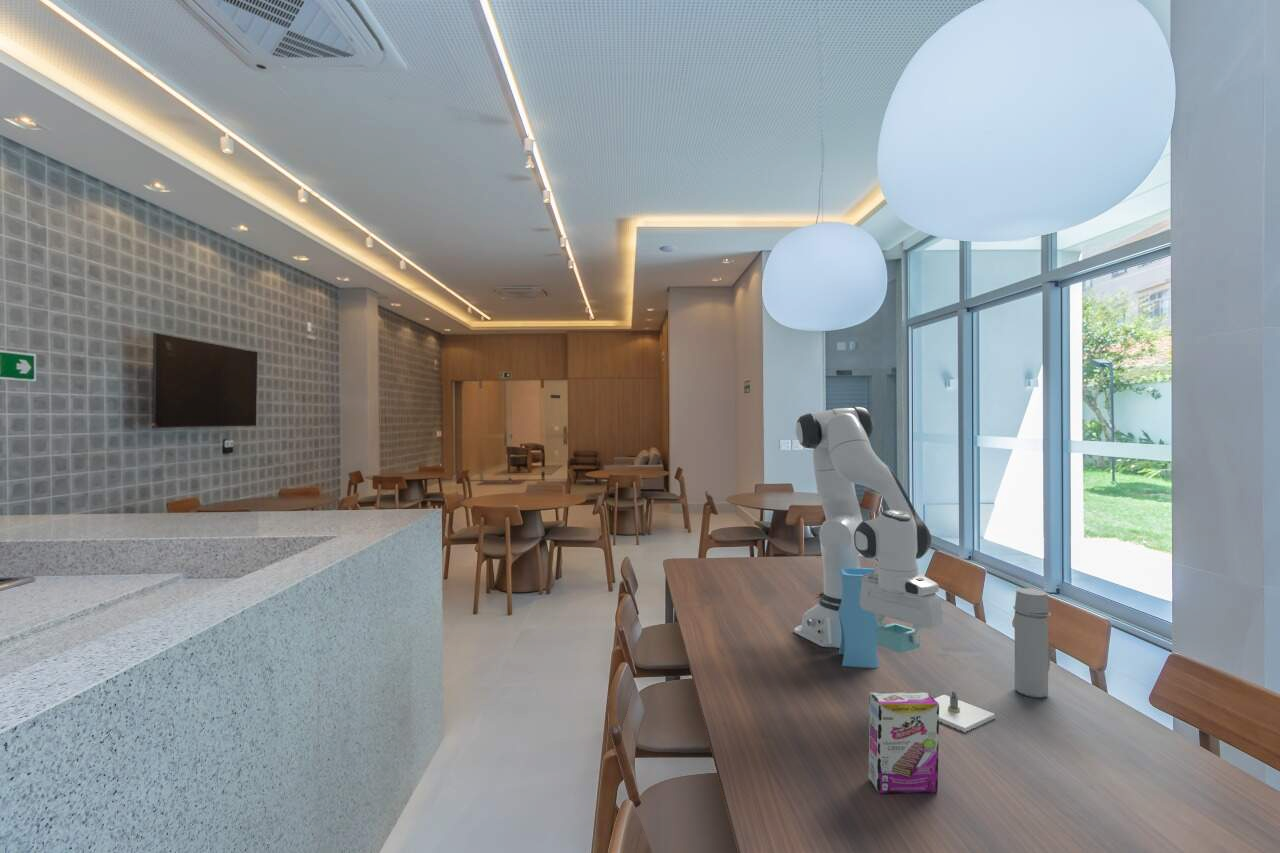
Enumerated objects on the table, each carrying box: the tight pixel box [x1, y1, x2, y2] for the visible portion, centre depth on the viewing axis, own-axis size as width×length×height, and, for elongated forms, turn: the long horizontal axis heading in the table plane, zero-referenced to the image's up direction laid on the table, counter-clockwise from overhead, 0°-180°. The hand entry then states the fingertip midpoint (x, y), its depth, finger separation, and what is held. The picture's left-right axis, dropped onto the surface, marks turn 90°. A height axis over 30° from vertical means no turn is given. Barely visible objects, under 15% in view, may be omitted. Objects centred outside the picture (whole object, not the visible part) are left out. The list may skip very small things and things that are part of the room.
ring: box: [876, 622, 921, 654], centre depth 147 cm, size 7×7×4 cm
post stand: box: [933, 690, 996, 733], centre depth 141 cm, size 12×12×5 cm
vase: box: [838, 567, 880, 669], centre depth 174 cm, size 10×10×25 cm
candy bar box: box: [867, 692, 940, 794], centre depth 113 cm, size 11×5×16 cm, turn 92°
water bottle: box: [1013, 587, 1052, 699], centre depth 153 cm, size 9×8×25 cm
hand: (899, 637), depth 147 cm, fingers closed on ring, 7 cm apart
